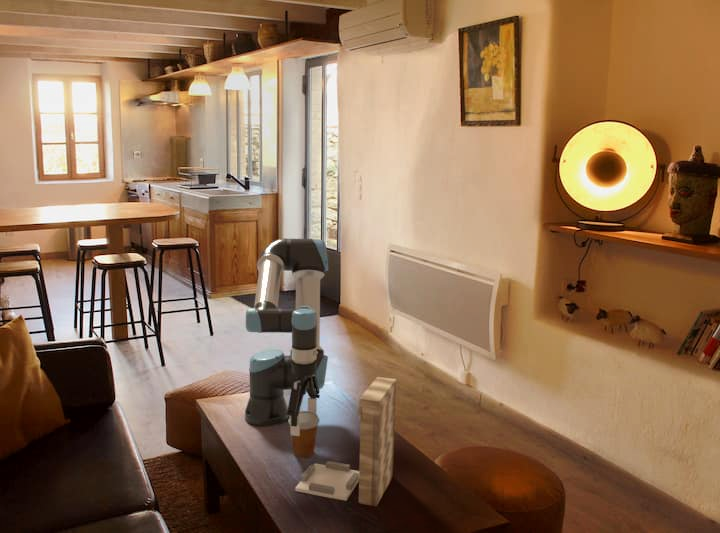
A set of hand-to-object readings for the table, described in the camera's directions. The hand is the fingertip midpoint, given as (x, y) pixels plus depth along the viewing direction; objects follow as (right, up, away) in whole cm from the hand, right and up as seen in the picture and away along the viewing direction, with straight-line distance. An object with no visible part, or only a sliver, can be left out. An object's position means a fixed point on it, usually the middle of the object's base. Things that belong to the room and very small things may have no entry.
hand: (303, 426), depth 211 cm
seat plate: (+9, -12, -16) cm, 22 cm away
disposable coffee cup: (0, -9, +2) cm, 9 cm away
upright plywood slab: (+22, -13, -19) cm, 32 cm away
